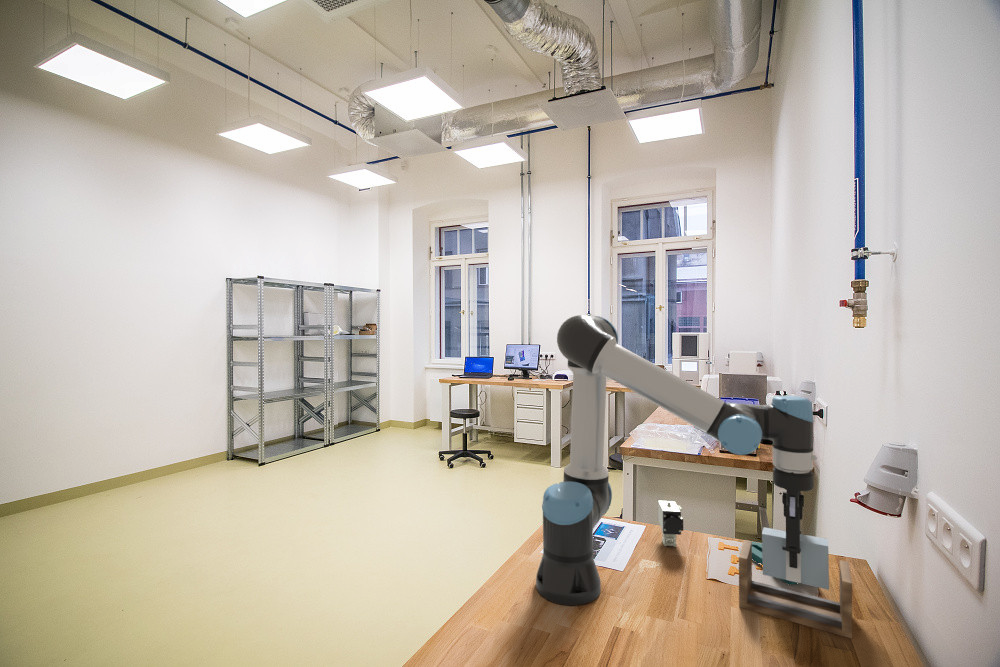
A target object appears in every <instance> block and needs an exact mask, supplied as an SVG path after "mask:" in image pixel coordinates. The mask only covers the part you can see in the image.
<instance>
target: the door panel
mask: <svg viewBox="0 0 1000 667" xmlns="http://www.w3.org/2000/svg"><path fill="white" fill-rule="evenodd" d="M761 543H762V563H763V567H762V575H764V576H768V577H772V578H776V579H779V578H780V579H779V580H781V579H784V580H786V550H782V546H784V547H786V530H779V529H775V528H771V527H765V526H764V527H762V532H761ZM800 549H801V583H802V584H801V585H806V586H811V587H814V588H815V587H816V588H820V589H822V590H823V589H824V590H829V591H830V570H829V569H830V568H829V561H830V560H829V559H830V558H829V539H828V538H824V537H820V536H813V535H809V534H808V535H807V534H802V533H801V534H800Z"/></svg>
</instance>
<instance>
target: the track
mask: <svg viewBox="0 0 1000 667" xmlns="http://www.w3.org/2000/svg"><path fill="white" fill-rule="evenodd" d="M752 542H753V541H751V540H748V539H744V540H743V543H742V545H741V548H740V552H739V555H738V607H739V608H743V609H746V610H750V611H753V612H757V613H760V614H763V615H767V616H771V617H774V618H778V619H780V620H785V621H788V622H792V623H796V624H799V625H803V626H806V627H810V628H813V629H816V630H820V631H824V632H827V633H831V634H835V635H838V636H841V637H845V638H848V639H853V580H852V574H851V568H850V561H846V560H842V559H841V560H840V559H839V563H838V564H839V568H838V569H839V585H838V586H839V593H838V594H839V596H838V598H839V601H835V600H831V599H826V598H822V597H819V596H814V595H810V594H807V593H803V592H798V591H794V590H790V589H787V588H783V587H778V586H775V585H771V584H767V583H765V582H761V581H755V580H753V560H752Z"/></svg>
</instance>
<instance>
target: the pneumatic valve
mask: <svg viewBox="0 0 1000 667" xmlns="http://www.w3.org/2000/svg"><path fill="white" fill-rule="evenodd" d="M657 521H658V524H659V526H660V529H661V533H662V538H661V541H662V544H663V546H664V547H667V546H668V547H677V545H678V544H677V535H678V536H679V535H682V532H684V519H683V517H682V507H681V505H677V503H676V501H675V500H667V499H657Z"/></svg>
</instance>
